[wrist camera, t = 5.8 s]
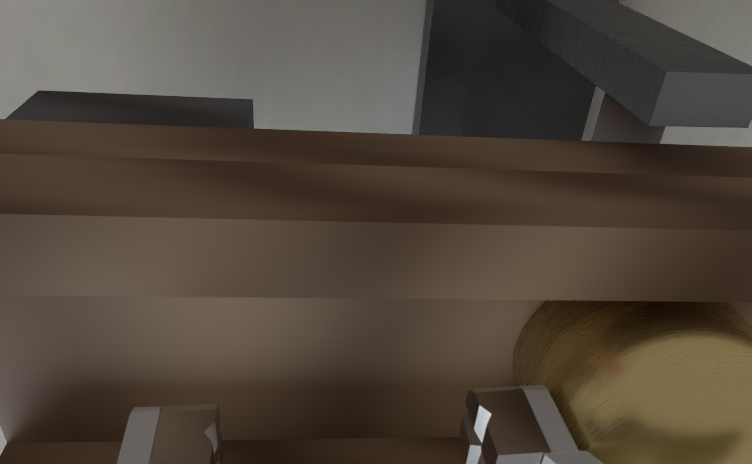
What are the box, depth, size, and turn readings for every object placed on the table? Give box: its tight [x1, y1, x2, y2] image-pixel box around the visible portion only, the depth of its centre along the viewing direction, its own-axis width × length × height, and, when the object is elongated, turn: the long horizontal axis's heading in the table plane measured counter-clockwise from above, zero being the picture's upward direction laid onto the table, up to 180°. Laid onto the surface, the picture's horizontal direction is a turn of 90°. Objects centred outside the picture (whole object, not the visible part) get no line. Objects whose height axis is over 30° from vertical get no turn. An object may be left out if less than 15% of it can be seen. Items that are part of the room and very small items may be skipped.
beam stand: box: [412, 0, 752, 141], centre depth 18 cm, size 6×14×10 cm, turn 176°
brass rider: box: [512, 300, 752, 464], centre depth 13 cm, size 5×5×4 cm
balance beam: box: [0, 91, 752, 464], centre depth 15 cm, size 28×10×6 cm, turn 86°
